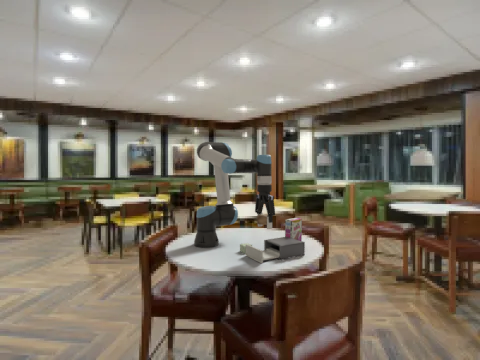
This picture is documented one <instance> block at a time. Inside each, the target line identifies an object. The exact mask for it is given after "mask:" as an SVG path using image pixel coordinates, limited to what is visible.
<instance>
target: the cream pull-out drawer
mask: <svg viewBox="0 0 480 360" xmlns="http://www.w3.org/2000/svg"><path fill="white" fill-rule="evenodd" d="M248 244H249V243H248ZM248 244H246V253H245V256H246V257H248V258H250V259H252V260H254V261H255V262H257V263H260V264H263V262H264V261H268V260H273V259H278V258H279V257H280V251H278V250H276V249H273V248H266V250H261V249H259V248H257V247H255V246H253V245H252V246H250V245H248Z"/></svg>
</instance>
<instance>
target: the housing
mask: <svg viewBox="0 0 480 360" xmlns="http://www.w3.org/2000/svg"><path fill="white" fill-rule="evenodd" d="M263 242H264V243H263V244H264V245H263V247H264V250H266V248H273V249H276V250H278V251H280V257H279V258H277V259H278V260H282V261H283V260H286V259H291V258H296V257H297V258H298V257H301V256H305V252H306V251H305V249H306V248H305V247H306V244H305V241H299V240H296V239H293V238H290V237H285V236H281V237H275V238H268V239H264V241H263ZM264 250H263V251H264Z"/></svg>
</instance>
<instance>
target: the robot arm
mask: <svg viewBox="0 0 480 360" xmlns="http://www.w3.org/2000/svg"><path fill="white" fill-rule="evenodd" d="M196 156H197V157H198V158H199V159H200V160H202V161H203V162H207V161H208V162H210V163H211V165H213V168H214V169H213V170H214V181H215V190H216V200H217V202H216V204H215V205H206V206H202V207H198V209H197V210H196V234H195V237H194V241H193V246H195V247H197V248H214V247H217V246H219V243H220V242H219V238H218V234H217V231H216V230H217V227H223V226H230V225H233V224H235V223H236V222H237V221H238V219H239V217H238V216H239V211H238V207H236V206H234V202H232V200H231V192H230V191H231V190H230V182H229V181H230V180H229V175H231V174H256V176H257V177H256V181H257V186H256V190H257V192H258V194H255V206H254V207H255V208H254V212H255V213H256V215H264V213H263V211H264V206H265V209H266V213H267V214H266V215H267V225H266V230H273V218H274V217H273V216H276V208H275V196H274V195H271V192H272V190H273V189H272V183H273V182H272V156H271V154H258V155H257V156H256V159H255V158H254V159H249V158H248V159H245V158H244V159H243V158H242V159H240V158H238V159H237V158H234V157H232V156H233V151H232V147H231V146H230V144H228V143H226V142H223V141H221V142H217V141H216V142H213V141H204V142H202V143H200V144H199V145H198V146H197V149H196ZM257 227H258V228H259V227H263V225H261V224H257Z"/></svg>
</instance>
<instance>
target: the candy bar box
mask: <svg viewBox="0 0 480 360" xmlns="http://www.w3.org/2000/svg"><path fill="white" fill-rule="evenodd" d="M284 221H285V222H284V225H285V226H284V237H290V238H293V239H296V240H299V241H302V239H303V238H302V234H303V233H302V231H303V225H302V224H303V218H299V217H294V218H287V219H284Z"/></svg>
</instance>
